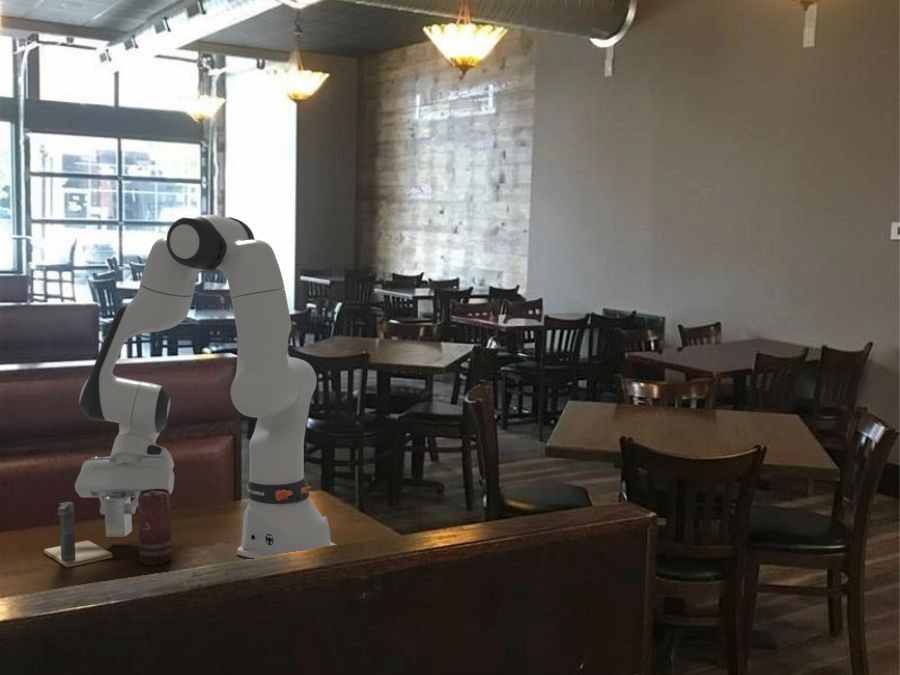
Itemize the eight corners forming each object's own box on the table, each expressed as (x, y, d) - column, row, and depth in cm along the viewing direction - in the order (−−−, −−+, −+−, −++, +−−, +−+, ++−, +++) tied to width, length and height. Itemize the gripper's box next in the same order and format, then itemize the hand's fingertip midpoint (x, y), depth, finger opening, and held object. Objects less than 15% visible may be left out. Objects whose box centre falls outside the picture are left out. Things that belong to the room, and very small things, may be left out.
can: (163, 566, 186) (162, 496, 184) (134, 564, 187) (132, 494, 186) (178, 557, 192) (177, 488, 190) (149, 555, 193) (148, 487, 192)
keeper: (115, 558, 190) (113, 499, 189) (61, 570, 183) (59, 509, 182) (88, 544, 200) (86, 487, 199) (35, 554, 193) (33, 496, 192)
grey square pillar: (132, 531, 202) (130, 491, 201) (125, 536, 198) (123, 495, 197) (113, 531, 202) (111, 491, 201) (105, 536, 198) (104, 496, 197)
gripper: (80, 449, 206) (62, 505, 197) (174, 448, 205) (160, 505, 196) (89, 465, 210) (72, 520, 202) (181, 464, 210) (168, 520, 201)
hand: (117, 513), depth 199 cm, fingers closed on grey square pillar, 4 cm apart
